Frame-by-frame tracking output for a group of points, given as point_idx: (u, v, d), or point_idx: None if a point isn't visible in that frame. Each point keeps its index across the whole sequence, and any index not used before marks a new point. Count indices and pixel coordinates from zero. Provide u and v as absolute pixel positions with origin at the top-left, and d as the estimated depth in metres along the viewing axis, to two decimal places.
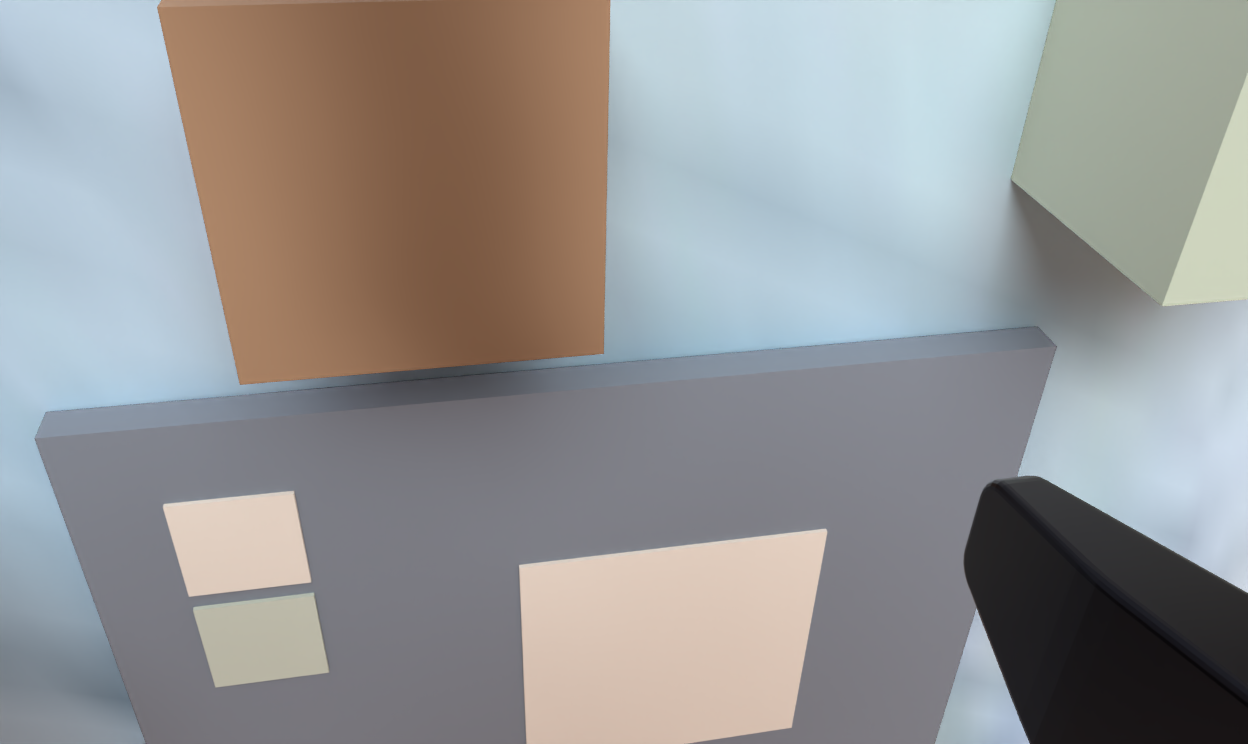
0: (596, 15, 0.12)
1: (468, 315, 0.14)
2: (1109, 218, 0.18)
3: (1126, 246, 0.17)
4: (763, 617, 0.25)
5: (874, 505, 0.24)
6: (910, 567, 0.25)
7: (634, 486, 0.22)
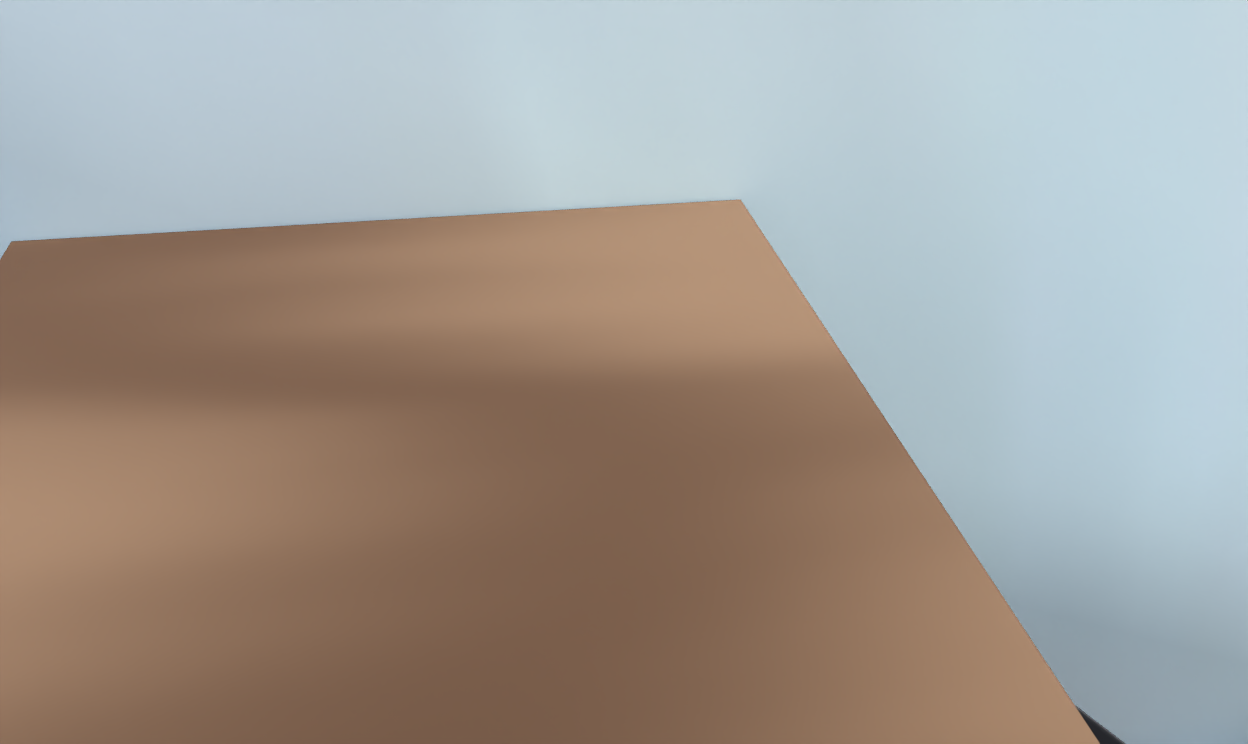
0: None
1: None
2: None
3: None
4: None
5: None
6: None
7: None
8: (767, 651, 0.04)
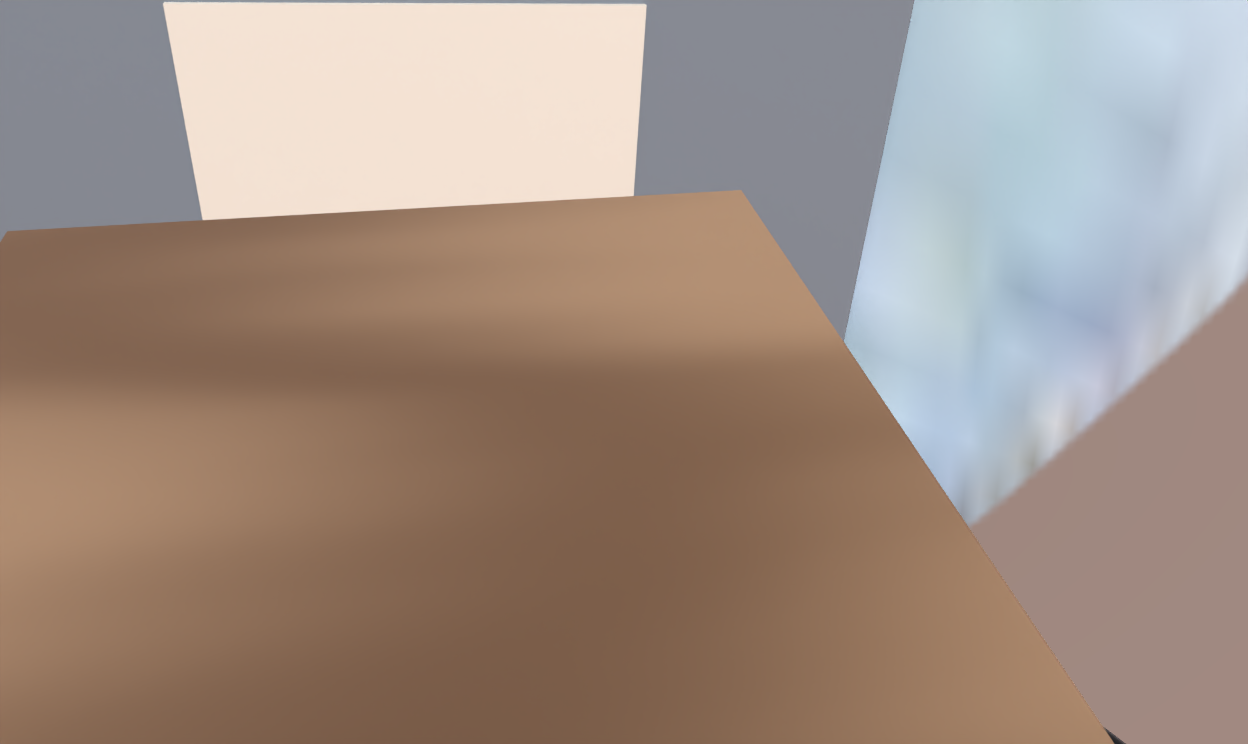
0: None
1: None
2: None
3: None
4: (562, 164, 0.17)
5: None
6: (776, 103, 0.18)
7: None
8: (769, 639, 0.04)
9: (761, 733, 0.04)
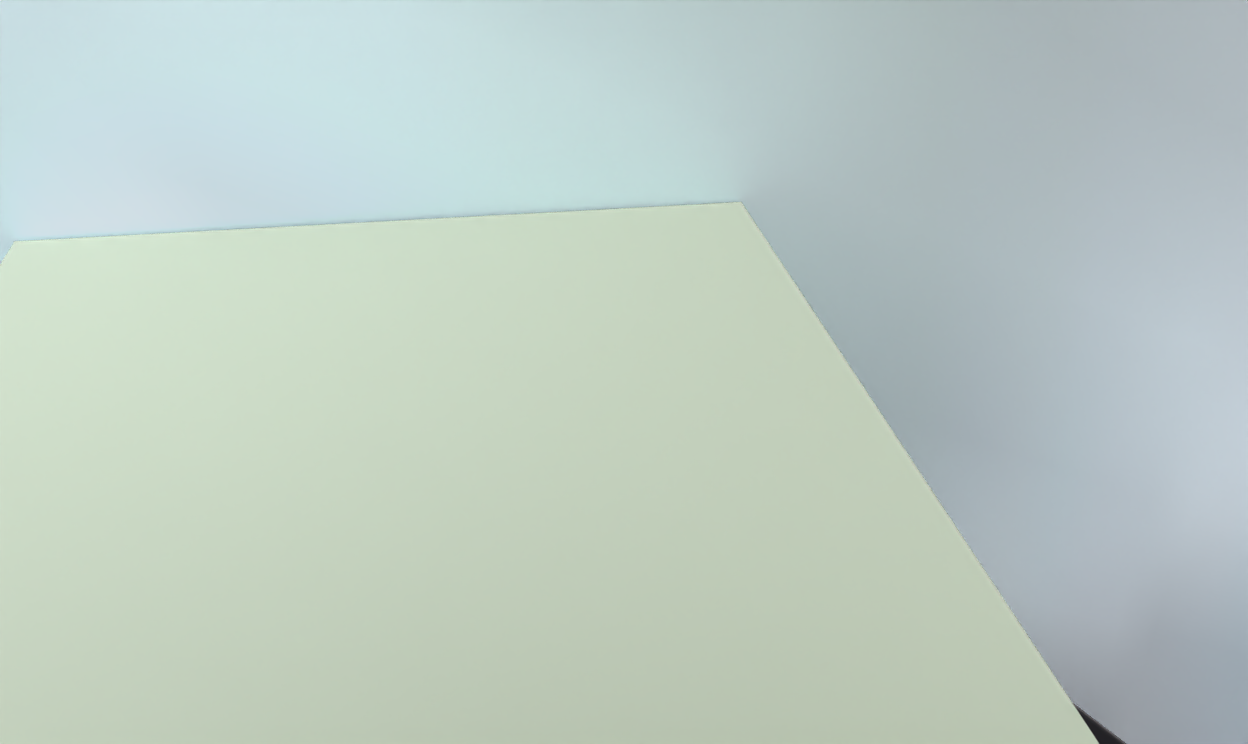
0: None
1: None
2: None
3: None
4: None
5: None
6: None
7: None
8: None
9: None
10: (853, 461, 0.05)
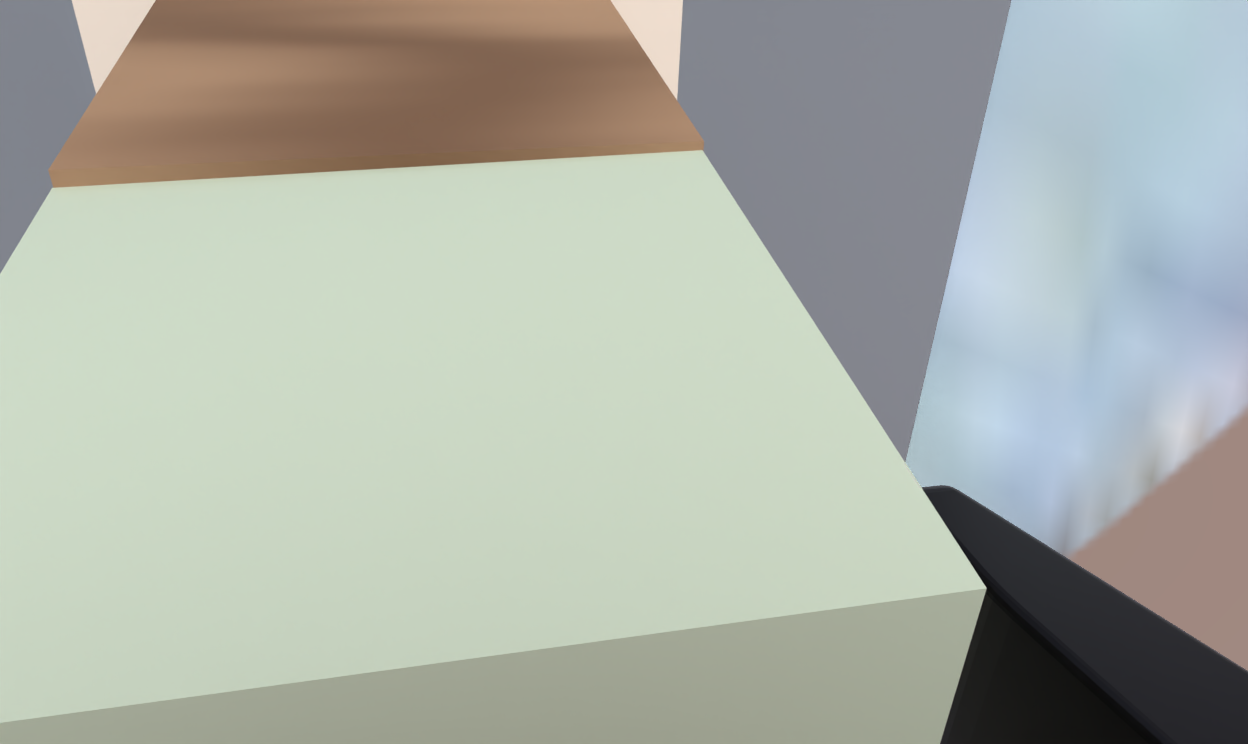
0: None
1: None
2: None
3: None
4: None
5: None
6: (855, 31, 0.14)
7: None
8: (557, 109, 0.09)
9: (544, 129, 0.09)
10: (783, 353, 0.06)
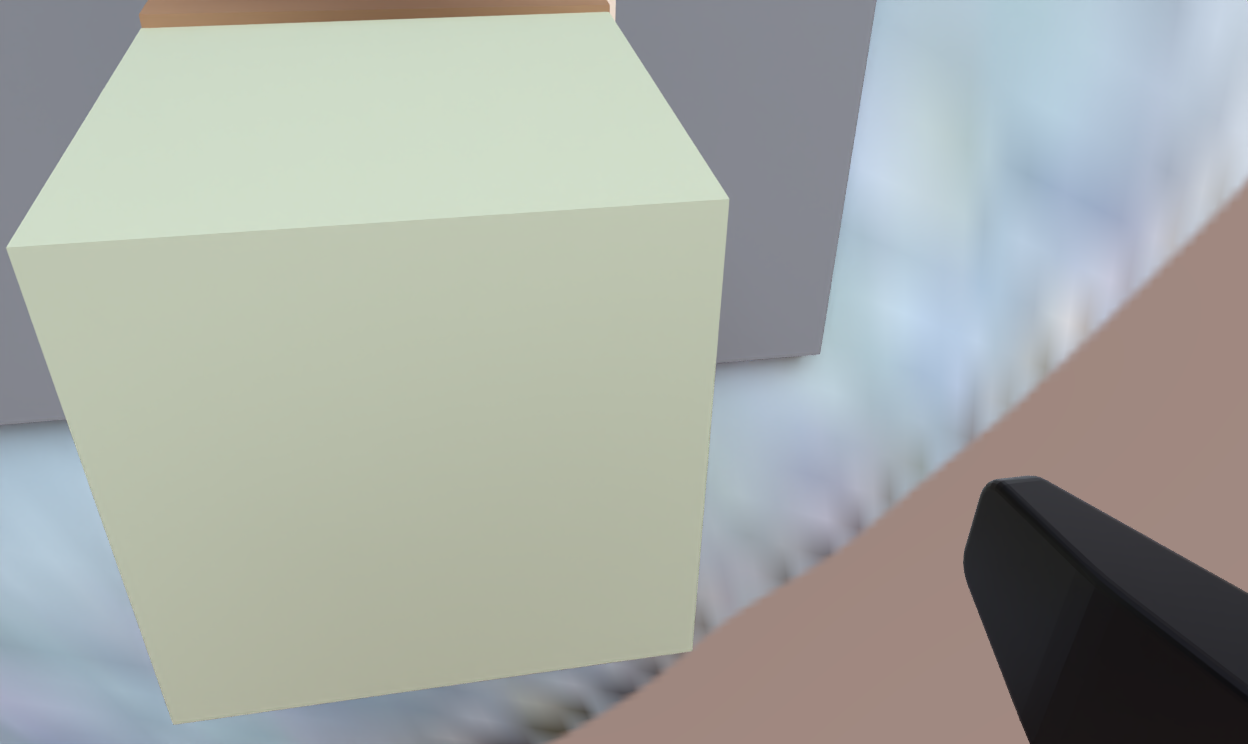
0: None
1: None
2: None
3: None
4: None
5: None
6: None
7: None
8: None
9: None
10: (637, 108, 0.09)
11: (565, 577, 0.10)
